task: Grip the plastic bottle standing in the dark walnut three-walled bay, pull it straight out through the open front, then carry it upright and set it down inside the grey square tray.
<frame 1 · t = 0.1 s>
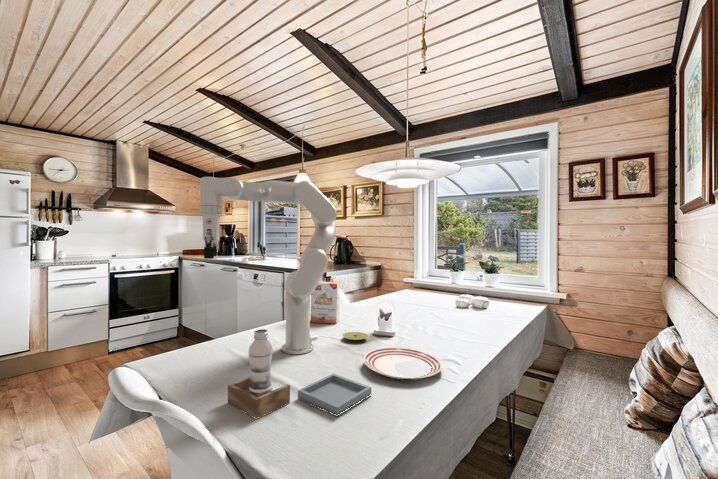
hand: (210, 257, 128), 37 cm above the table, tool pointing down, fingers open, 9 cm apart
cracker box: (324, 322, 181), on the table
mat: (355, 340, 153), on the table
grey square tray: (334, 397, 100), on the table
walnut bay: (258, 402, 96), on the table
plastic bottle: (260, 402, 96), on the table
dinner plate: (401, 369, 122), on the table
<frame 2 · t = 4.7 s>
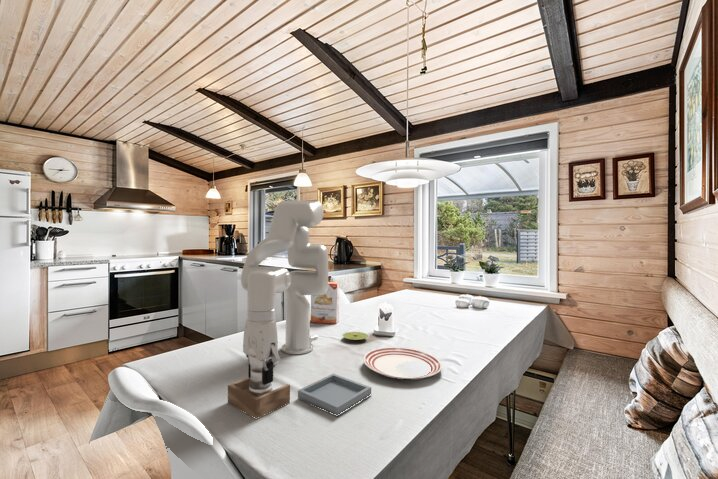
hand: (260, 379, 96), 7 cm above the table, tool pointing down, fingers closed on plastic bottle, 5 cm apart
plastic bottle: (260, 402, 96), on the table, touching gripper
everything else where it was.
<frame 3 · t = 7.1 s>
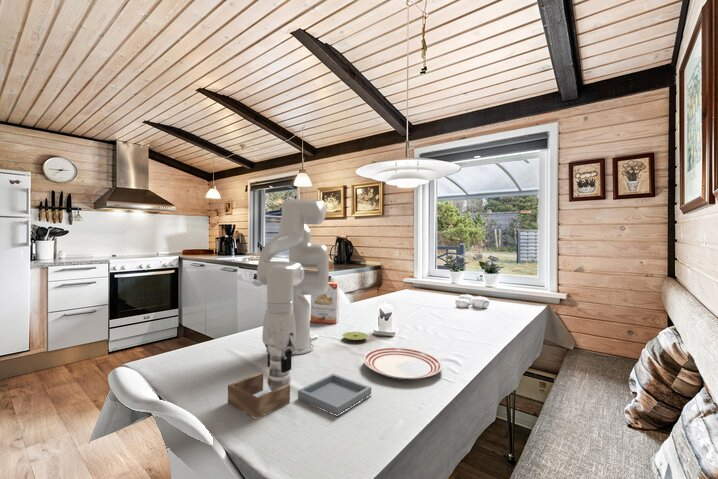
hand: (279, 367, 102), 8 cm above the table, tool pointing down, fingers closed on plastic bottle, 5 cm apart
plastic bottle: (278, 390, 102), point 1 cm above the table, touching gripper
everything else where it was.
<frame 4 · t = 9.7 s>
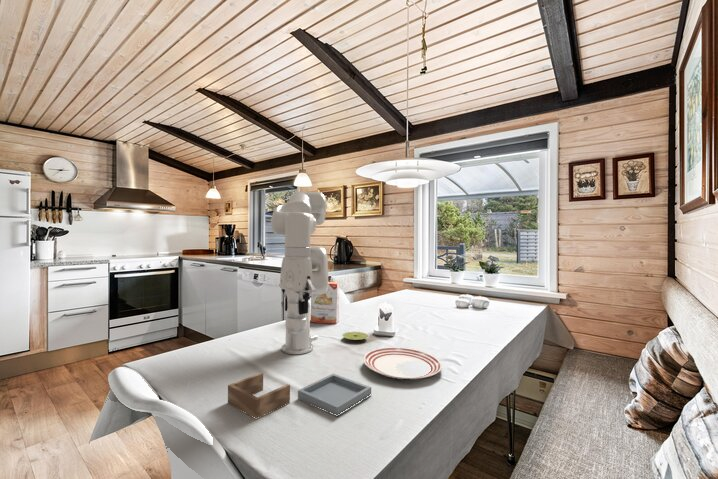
hand: (296, 311, 106), 23 cm above the table, tool pointing down, fingers closed on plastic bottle, 5 cm apart
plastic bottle: (295, 333, 106), point 17 cm above the table, touching gripper
everything else where it was.
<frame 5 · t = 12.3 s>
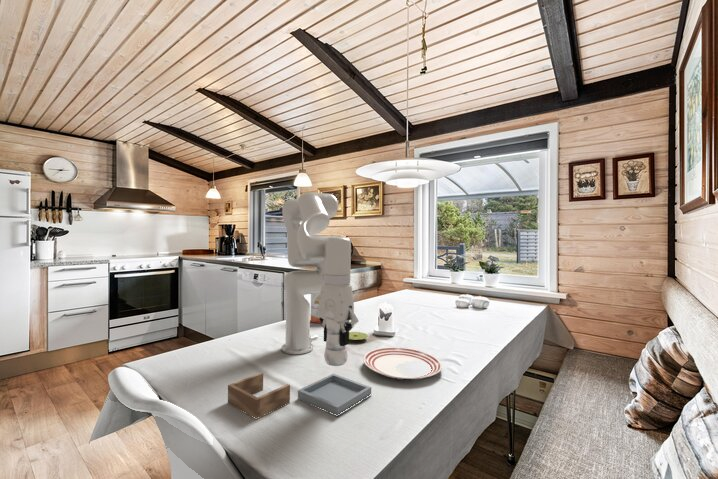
hand: (336, 342, 100), 16 cm above the table, tool pointing down, fingers closed on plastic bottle, 5 cm apart
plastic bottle: (335, 365, 100), point 9 cm above the table, touching gripper
everything else where it was.
when the fingers open (8 cm above the table, at t = 14.6 s): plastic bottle stays where it is, resting on grey square tray.
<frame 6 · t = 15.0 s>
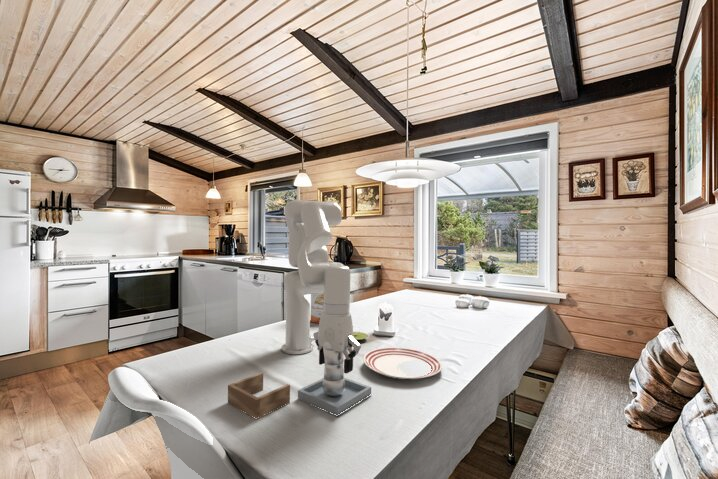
hand: (335, 367, 100), 9 cm above the table, tool pointing down, fingers open, 9 cm apart
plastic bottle: (333, 394, 100), point 1 cm above the table, touching grey square tray
everything else where it was.
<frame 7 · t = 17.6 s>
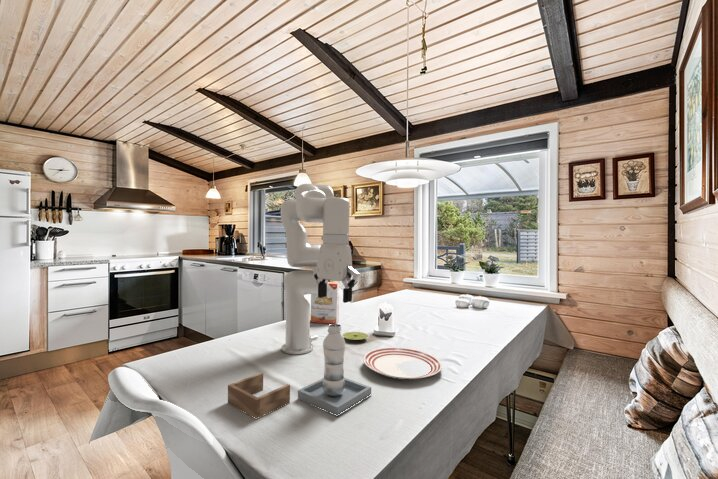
hand: (334, 299, 100), 28 cm above the table, tool pointing down, fingers open, 9 cm apart
nothing on the table moved.
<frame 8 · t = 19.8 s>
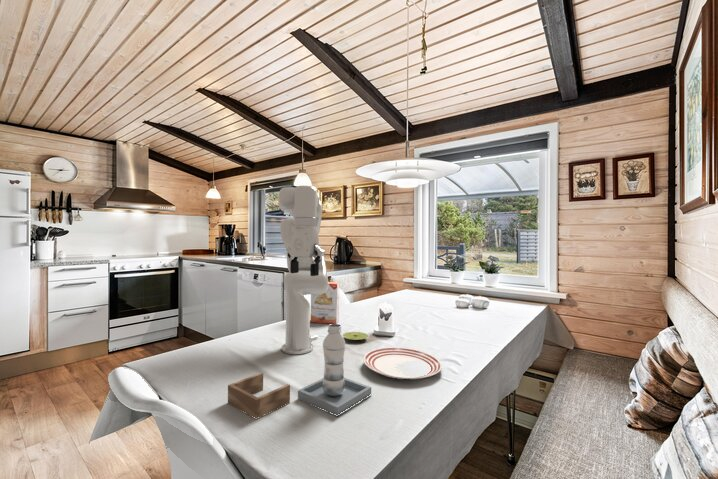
hand: (304, 274, 116), 33 cm above the table, tool pointing down, fingers open, 9 cm apart
nothing on the table moved.
at the end: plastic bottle inside the target area on the grey square tray (0.6 cm from its centre), point 0.6 cm above the grey square tray's base; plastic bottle tilted 0°; the gripper is holding nothing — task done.
